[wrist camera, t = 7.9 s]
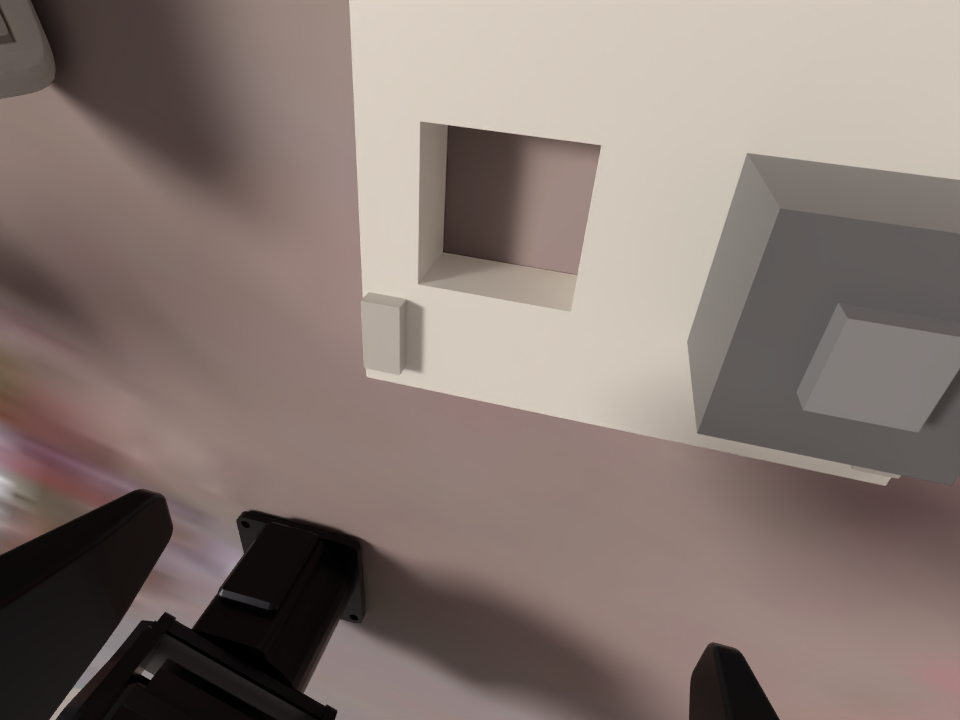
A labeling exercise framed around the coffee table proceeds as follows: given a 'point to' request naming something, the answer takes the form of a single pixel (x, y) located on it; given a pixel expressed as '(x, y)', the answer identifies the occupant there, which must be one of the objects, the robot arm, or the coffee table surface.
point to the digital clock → (23, 50)
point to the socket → (617, 177)
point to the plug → (835, 318)
